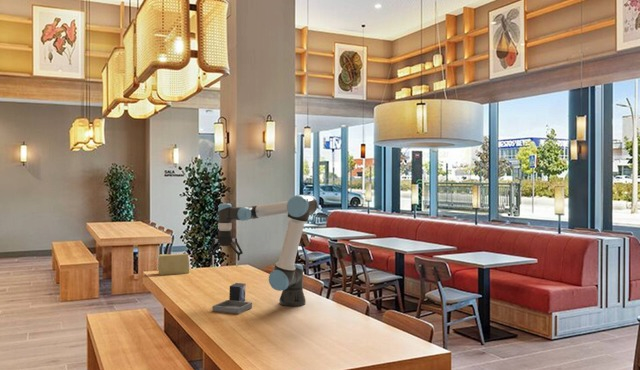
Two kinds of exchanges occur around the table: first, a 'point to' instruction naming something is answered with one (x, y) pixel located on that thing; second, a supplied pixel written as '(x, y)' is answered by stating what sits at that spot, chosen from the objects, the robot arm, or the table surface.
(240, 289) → the small box
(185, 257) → the olive rectangular block
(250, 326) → the table surface
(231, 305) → the tray
